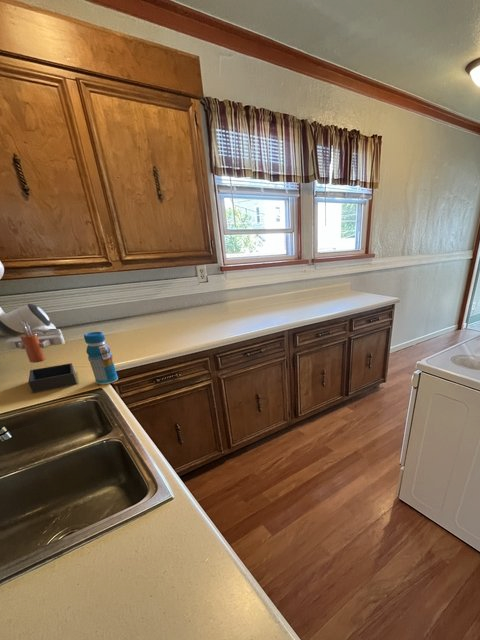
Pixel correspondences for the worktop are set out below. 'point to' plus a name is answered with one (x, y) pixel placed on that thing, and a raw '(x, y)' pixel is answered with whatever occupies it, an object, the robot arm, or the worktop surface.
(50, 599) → the worktop surface
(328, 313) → the worktop surface
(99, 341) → the beverage bottle
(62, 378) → the bin
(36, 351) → the cutlery cup
